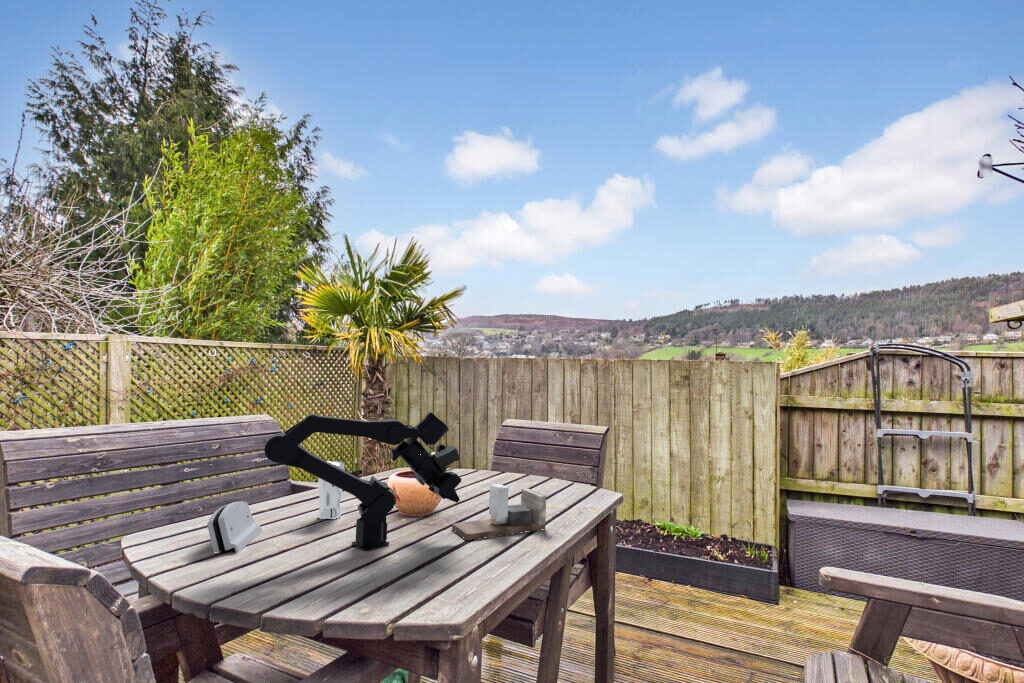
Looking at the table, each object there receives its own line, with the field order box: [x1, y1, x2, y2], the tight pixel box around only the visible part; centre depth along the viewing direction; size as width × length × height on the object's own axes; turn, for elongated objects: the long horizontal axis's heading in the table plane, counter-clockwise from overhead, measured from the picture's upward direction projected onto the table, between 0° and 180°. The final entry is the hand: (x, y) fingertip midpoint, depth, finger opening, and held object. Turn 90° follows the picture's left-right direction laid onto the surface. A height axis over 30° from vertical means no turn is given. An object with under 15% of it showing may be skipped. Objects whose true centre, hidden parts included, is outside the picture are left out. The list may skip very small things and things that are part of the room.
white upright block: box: [317, 460, 345, 520], centre depth 143 cm, size 7×7×15 cm
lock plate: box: [451, 487, 547, 541], centre depth 136 cm, size 23×10×9 cm, turn 119°
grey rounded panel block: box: [207, 500, 263, 554], centre depth 120 cm, size 17×5×10 cm, turn 9°
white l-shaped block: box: [488, 483, 509, 525], centre depth 138 cm, size 10×5×10 cm, turn 119°
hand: (458, 501), depth 130 cm, fingers closed
